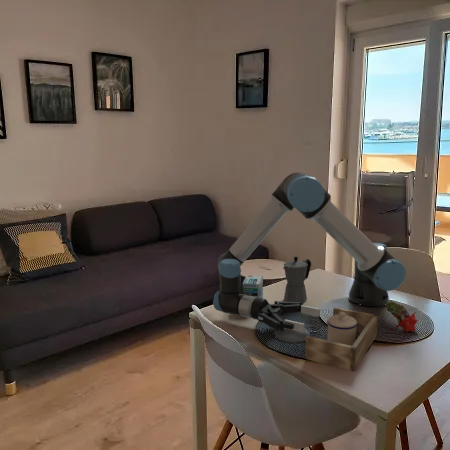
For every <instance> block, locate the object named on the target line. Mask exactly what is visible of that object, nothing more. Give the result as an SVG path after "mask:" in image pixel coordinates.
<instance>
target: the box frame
mask: <svg viewBox="0 0 450 450" xmlns="http://www.w3.org/2000/svg"><path fill="white" fill-rule="evenodd" d="M340 312H345V314H346V315H347V316H350V317H353V318H354V319H355V320H356V321H357V326H356V333H358V332H361V333H359V335H358V337H356V341H355V343H354V344H353V345H352V346H349V345H345V344H341V343H336V342H332V341H328V340H327V339H323V338H318V337H314V336H311V335H310V336H306V341H305V352H304V353H305V354H304V356H305V359H306V360H307V361H308V360H309V361H313V362H315V363H319V364H324V365H328V366H332V367H336V368H340V369H343V370H346V371H352V372H355V371H356V370H357V368H358V366H359V364H361V361H362V359H363V358H364V357H365V355H366V353H367V351H368V350H369V348H370V347H371V346H372V344H373V342H374V340H375V339H376V337H377V335H378V322H379V321H378V319H379V317H378V316H379V315H378V314H373V313H367V312H363V311H359V310H358V311H356V310H354V309H353V310H351V309H346V308H342V307H335V306H334V307H333V308H332V316H333V315H338V314H339V313H340Z"/></svg>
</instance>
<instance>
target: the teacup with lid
mask: <svg viewBox="0 0 450 450" xmlns="http://www.w3.org/2000/svg"><path fill="white" fill-rule="evenodd" d="M326 320H327V321H326V323H327V337H326V338H327V339H326V340H328V341H332V342H336V343H341V344H345V345H349V346H352V345H353V344H354V343H355V341H356V340H357V332H356V326H357V321H356V320H355V319H354V318H353V317H350V316H347V315H346V314H345V312H340V313H339V314H338V315H333V314H332V315H331V316H329V317H328V318H327V319H326Z"/></svg>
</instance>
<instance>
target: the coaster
mask: <svg viewBox="0 0 450 450" xmlns="http://www.w3.org/2000/svg"><path fill="white" fill-rule="evenodd" d="M274 335H275V336H274ZM273 336H274V337H275V338H276V339H277V338H278V339H277V340H279V341H281V340H282V341H281V342H284V341H285V342H284V343H289V342H290V343H291V344H292V343H293V344H295V343H297V344H298V343H302V342H306V336H310V337H311V332H310V331H309V330H308V329H306V328H305V332H304V333H303V332H299V331H295V330H290V329H286V328H284V331H280V330H278V331H277V330H275V329H274V332H273Z"/></svg>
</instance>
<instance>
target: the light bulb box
mask: <svg viewBox="0 0 450 450" xmlns="http://www.w3.org/2000/svg"><path fill="white" fill-rule="evenodd" d="M242 294H243V295H248V296H253V297H256V298H263V299H264V276H263V275H253V274H252V275H251V274H246V275H245V278H244V280H243V282H242Z"/></svg>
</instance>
